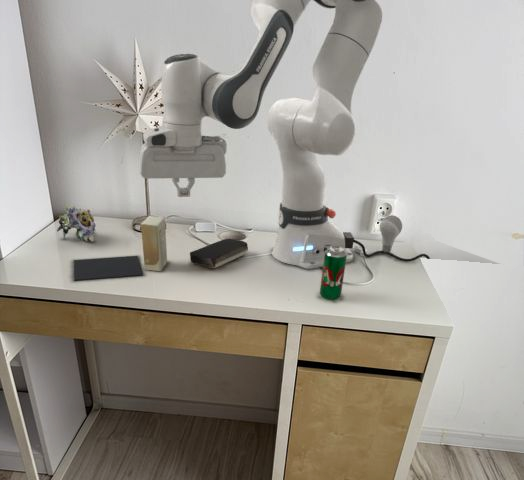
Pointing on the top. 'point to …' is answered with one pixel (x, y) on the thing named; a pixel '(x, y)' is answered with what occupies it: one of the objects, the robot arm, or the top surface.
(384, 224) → the lightbulb
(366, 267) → the top surface
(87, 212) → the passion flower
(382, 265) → the top surface
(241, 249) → the black sponge
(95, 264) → the mat
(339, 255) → the soda can
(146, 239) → the cosmetic box
